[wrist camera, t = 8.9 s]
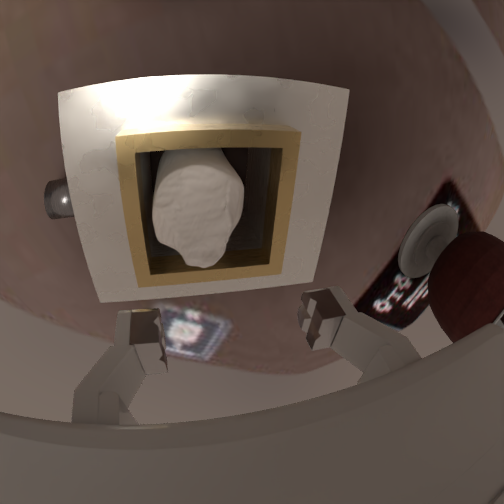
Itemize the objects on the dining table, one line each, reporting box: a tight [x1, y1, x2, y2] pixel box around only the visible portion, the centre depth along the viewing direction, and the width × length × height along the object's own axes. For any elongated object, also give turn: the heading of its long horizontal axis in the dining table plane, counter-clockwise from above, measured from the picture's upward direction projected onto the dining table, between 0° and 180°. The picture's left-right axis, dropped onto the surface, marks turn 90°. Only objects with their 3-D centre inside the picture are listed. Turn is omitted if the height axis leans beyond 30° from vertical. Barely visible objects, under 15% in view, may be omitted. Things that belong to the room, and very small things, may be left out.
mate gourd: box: [398, 204, 504, 343], centre depth 28 cm, size 16×14×20 cm
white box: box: [44, 74, 349, 303], centre depth 19 cm, size 21×16×8 cm
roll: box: [152, 148, 244, 268], centre depth 18 cm, size 6×12×6 cm
